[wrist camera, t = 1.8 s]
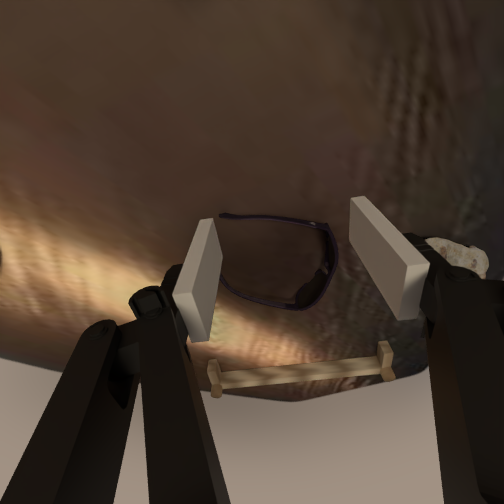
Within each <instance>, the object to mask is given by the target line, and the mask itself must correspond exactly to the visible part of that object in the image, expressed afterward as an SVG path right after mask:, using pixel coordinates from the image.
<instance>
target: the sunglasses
mask: <svg viewBox="0 0 504 504" xmlns="http://www.w3.org/2000/svg"><path fill="white" fill-rule="evenodd" d="M219 217H220V218H225V219H234V220H275V221H282V222H288V223H294V224H300V225H304V226H309V227H313V228H318V229H323V230H326V237H327V238H329V241H327V242H326V254H325V261H324V265H325V267H326V269H327V270H328V274H327V275H326V273H325V272H324V271H322V270H318V271H317V272H316V273H315V277H314V278H313V279H312V280H311V281H310V282H309V283H308V284H307V283H305V284H304V285H303V286H302V288H301V289H300V290H299V292H298V293H297V295H296V303H295V304H286V303H280V302H274V301H269V300H264V299H260V298H256V297H252V296H249V295H245V294H243V293H241V292H239V291H237V290H235V289H233V288H232V287H230V286H229V285H228V284H227V282H226V281H225V279H224V278H223V276H222V274H221V273H220V277H219V279H220V280H221V282H222V283H223V284H224V286H225V287H226V288H227V289H228V290H230V291H231V292H232V293H234V294H236V295H238V296H240V297H242V298H245V299H248V300H250V301H254V302H257V303H260V304H264V305H268V306H273V307H277V308H282V309H287V310H295V311H298V310H300V311H303V310H306V309H308V308H310V307H312V306H313V305H315V304H316V303H317V302H318V301H319V300H320V299H321V298H322V296H323V295H324V293H325V291H326V289H327V287H328V286H329V283H330V281H331V279H332V276H333V274H334V272H335V270H336V267H337V264H338V248H337V244H336V241H335V238H334V235H333V233H332V231H331V229H330V227H329V225H328V223H325V224H321V223H316V222H311V221H306V220H300V219H294V218H287V217H279V216H268V215H248V216H240V215H233V214H228V213H223V214H219Z"/></svg>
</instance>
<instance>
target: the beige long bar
mask: <svg viewBox="0 0 504 504" xmlns="http://www.w3.org/2000/svg"><path fill="white" fill-rule="evenodd" d="M392 357H393V351H392V349H391V347H390V345H389V344H388V342H387V341H379V342H378V347H377V355H376V356H372V357H363V358H353V359H343V360H334V361H324V362H314V363H305V364H295V365H285V366H276V367H266V368H256V369H247V370H237V371H227V372H221V369H220V367H219V364H218V361H217V359H212V360H209V362H208V369H207V373H208V376H209V378H210V381H211V383H212V389H211V396H212V397H213V398H220V397H221V396H222V389H228V388H238V387H248V386H258V385H269V384H279V383H289V382H299V381H309V380H319V379H329V378H340V377H350V376H360V375H370V374H380V373H381V375H382V377H383V379H384V381H386V382H390V381H393V380H394V379H395V378H396V377H395V375H394V373H393V371H392V369H391V363H392Z"/></svg>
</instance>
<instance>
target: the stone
mask: <svg viewBox="0 0 504 504" xmlns="http://www.w3.org/2000/svg"><path fill="white" fill-rule="evenodd" d="M425 241H426V242H427V243H428V245H430V246H432V247H433V248H434V250H436V251H437V252H438V253H439V254H440V255H441V256H442V257H443V258H445V259H446V260H447V261H448V262H449V263H450V264H451V265H452V266H460V267H465V268H467V269H470V270H472V271H474V272H475V273H477V274H478V275H479V276H480V277H481V279H485V278H486V274H485V272H486V271H487V269H488V266H489V263H488V258H487V256H486V254H485V252H484V251H482V250H480V249H478V248H476V247H475V246H470V247H469V248H467V247H465V246H463V245H460V244H456V243H454V242H452V241H449V240H446V239H442V238H428V239H425Z"/></svg>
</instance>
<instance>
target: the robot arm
mask: <svg viewBox="0 0 504 504" xmlns="http://www.w3.org/2000/svg"><path fill="white" fill-rule="evenodd" d="M349 241H350V243H351V244H352V246H353V247H354V249H355V251H356V252H357V254H358V256H359V257H360V259H361V261H362V262H363V264H364V266H365V267H366V269H367V271H368V272H369V274H370V275H371V277H372V279H373V280H374V282H375V284H376V285H377V287H378V289H379V290H380V292H381V294H382V295H383V297H384V298H385V300H386V302H387V303H388V305H389V307H390V308H391V310H392V312H393V313H394V315H395V317H396V318H397V320H408V319H417V318H418V313H419V309H420V308H421V310H422V311H423V312H424V314H425V315H426V318H425V322H424V326H423V330H422V334H421V337H422V338H424V336H425V337H426V346H427V355H428V364H429V372H430V381H431V391H432V399H433V408H434V417H435V426H436V435H437V444H438V453H439V461H440V471H441V480H442V489H443V498H444V504H504V281H501V280H488V279H481V277H480V276H479V275H478V274H477V273H475V272H474V271H472V270H470V269H467V268H465V267H460V266H452V265H451V264H450V263H449V262H448V261H447V260H446V259H445V258H443V257H442V256H441V255H440V254H439V253H438V252H437V251H436V250H434V248H433V247H432V246H430V245H428V243H427V242H426V241H425V240H424V239H423V238H422V237H420V236H417V235H415V234H413V233H405V234H401V233H400V232H399V231H398V230H397V229H396V228H395V227H394V226H393V225H392V224H391V223H390V222H389V221H388V220H387V219H386V218H385V217H384V215H383V214H382V213H381V212H380V211H379V210H378V209H377V208H376V207H375V206H374V205H373V204H372V203H371V202H370V201H369V200H368V199H367V198H366V197H365V196H361V197H354V198H351V200H350V229H349ZM222 259H223V256H222V252H221V248H220V244H219V240H218V236H217V232H216V228H215V225H214V221H213V218H210V219H203V220H200V222H199V224H198V227H197V230H196V232H195V235H194V238H193V240H192V243H191V246H190V248H189V251H188V254H187V256H186V259H185V262H184V264H177V265H173V266H172V267H171V268H170V269H169V270H168V271H167V272H166V274H165V277H164V280H163V281H162V283H161V286H160V287H159V286H148V287H145V288H143V289H140V290H138V291H137V292H136V293H134V294H133V295H132V297H131V298H130V299H129V303H128V304H129V306H130V307H131V309H132V311H133V313H134V315H135V317H136V320H134V321H131V322H129V323H126V324H123V325H120V326H117V324H116V323H115V321H113V320H110V319H108V320H102V321H99V322H96V323H95V324H93V325H91V326H90V327H89V328H87V329H86V330H85V331H84V332H83V334H82V335H81V337H80V339H79V341H78V343H77V345H76V347H75V349H74V351H73V353H72V355H71V357H70V359H69V361H68V363H67V365H66V367H65V370H64V372H63V374H62V376H61V378H60V380H59V382H58V384H57V386H56V388H55V390H54V392H53V394H52V396H51V398H50V400H49V402H48V405H47V406H46V408H45V411H44V413H43V415H42V417H41V419H40V421H39V423H38V425H37V427H36V429H35V431H34V433H33V435H32V437H31V439H30V441H29V443H28V445H27V447H26V449H25V452H24V453H23V455H22V458H21V460H20V462H19V464H18V466H17V468H16V470H15V472H14V474H13V476H12V478H11V480H10V482H9V485H8V486H7V489H6V490H5V493H4V494H3V496H2V499H1V501H0V504H113V502H114V497H115V492H116V488H117V483H118V479H119V474H120V469H121V464H122V460H123V455H124V450H125V446H126V441H127V436H128V431H129V427H130V422H131V417H132V412H133V408H134V403H135V398H136V394H137V389H138V384H139V380H140V375H141V388H142V403H143V417H144V433H145V447H146V461H147V477H148V491H149V504H231V503H230V499H229V495H228V492H227V488H226V484H225V481H224V477H223V474H222V470H221V466H220V462H219V459H218V455H217V451H216V448H215V444H214V440H213V437H212V433H211V430H210V426H209V422H208V418H207V415H206V411H205V407H204V404H203V400H202V397H201V393H200V389H199V385H198V382H197V378H196V374H195V371H194V367H193V363H192V360H191V356H190V352H189V349H188V346H187V344H186V341H187V337H188V335H189V337H190V340H191V342H192V343H193V342H203V341H209V337H210V331H211V325H212V319H213V313H214V307H215V301H216V295H217V289H218V283H219V277H220V271H221V265H222Z"/></svg>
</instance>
